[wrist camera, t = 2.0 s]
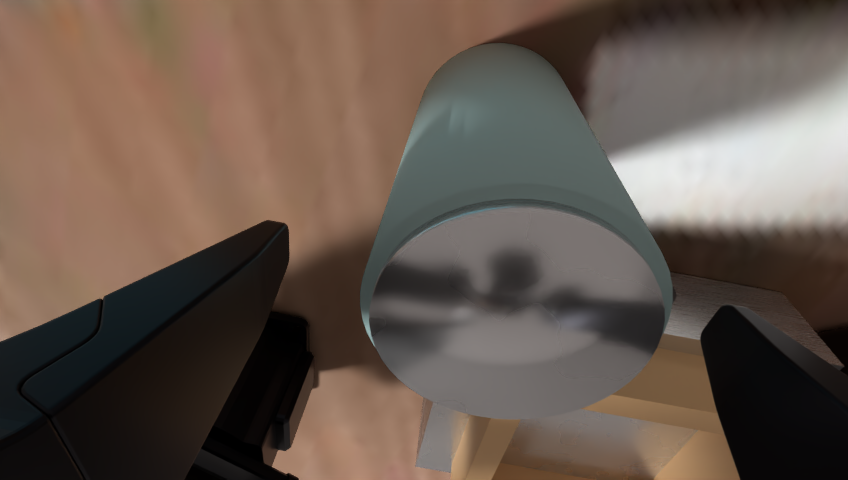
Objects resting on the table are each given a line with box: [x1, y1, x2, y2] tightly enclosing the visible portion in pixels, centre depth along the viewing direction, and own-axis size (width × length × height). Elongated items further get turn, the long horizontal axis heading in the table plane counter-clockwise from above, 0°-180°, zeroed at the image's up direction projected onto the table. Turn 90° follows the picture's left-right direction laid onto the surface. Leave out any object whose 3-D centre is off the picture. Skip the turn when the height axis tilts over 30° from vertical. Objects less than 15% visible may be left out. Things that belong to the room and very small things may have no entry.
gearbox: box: [415, 272, 844, 480], centre depth 20 cm, size 14×13×6 cm
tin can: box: [360, 43, 673, 419], centre depth 12 cm, size 6×6×10 cm
